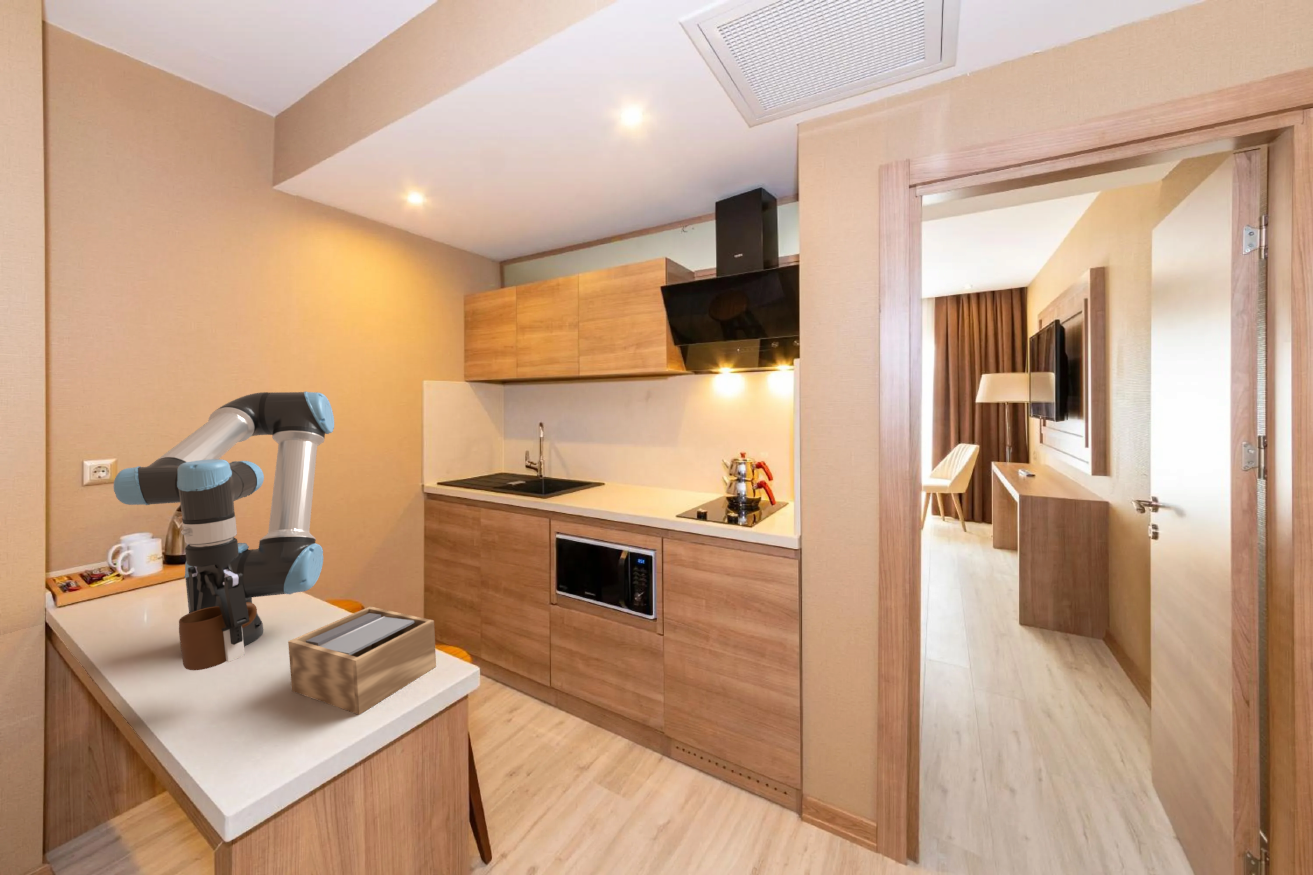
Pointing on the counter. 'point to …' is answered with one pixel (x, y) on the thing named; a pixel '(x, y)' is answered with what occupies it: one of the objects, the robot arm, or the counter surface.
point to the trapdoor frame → (362, 664)
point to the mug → (205, 637)
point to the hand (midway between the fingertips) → (223, 653)
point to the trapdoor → (359, 633)
